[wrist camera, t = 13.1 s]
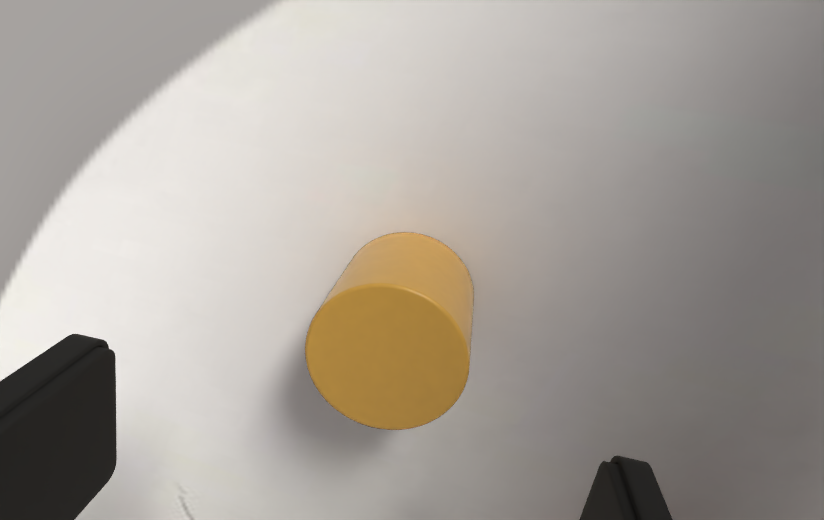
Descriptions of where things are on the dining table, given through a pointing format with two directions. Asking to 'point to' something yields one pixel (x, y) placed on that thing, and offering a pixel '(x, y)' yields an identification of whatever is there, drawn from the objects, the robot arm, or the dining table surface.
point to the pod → (394, 333)
